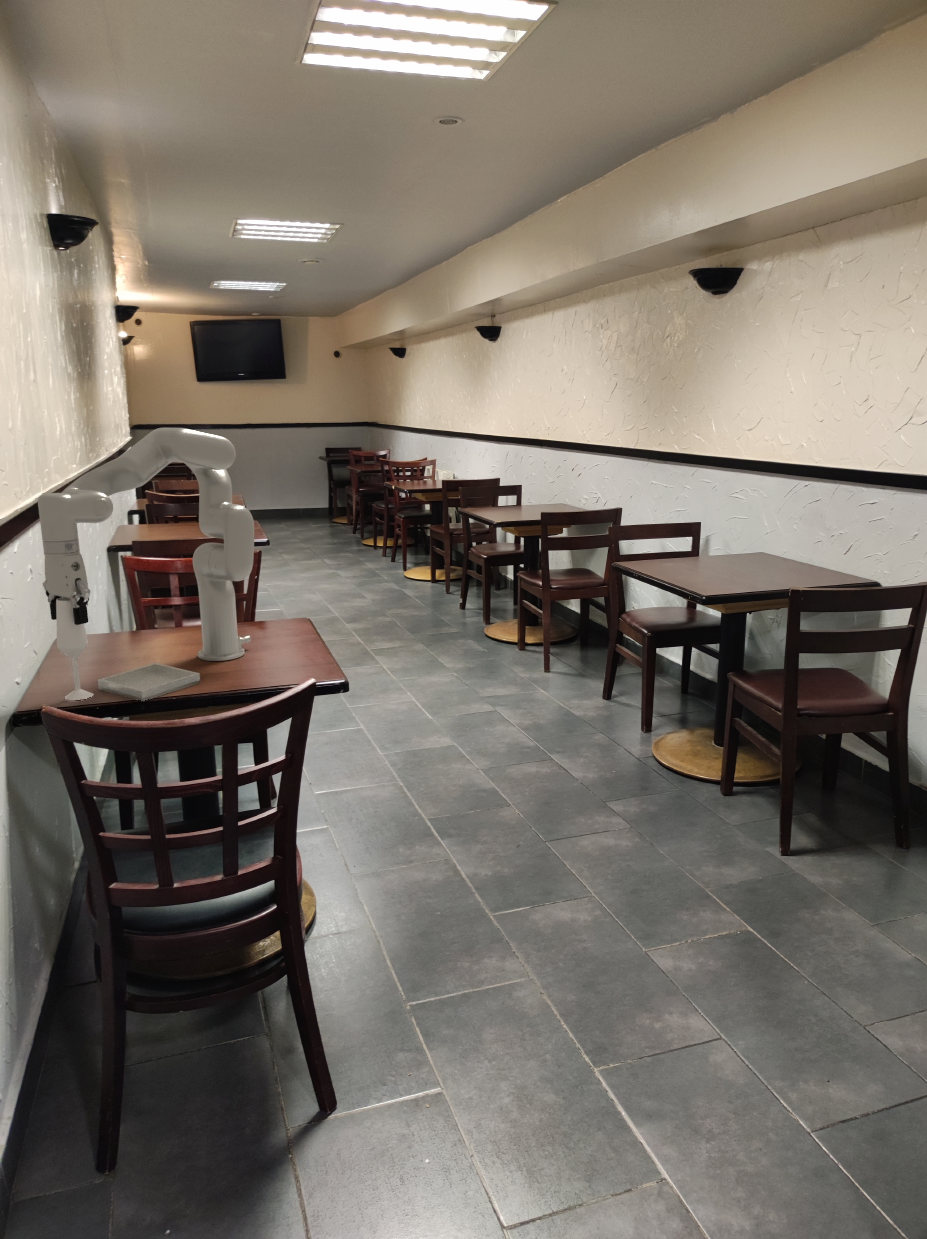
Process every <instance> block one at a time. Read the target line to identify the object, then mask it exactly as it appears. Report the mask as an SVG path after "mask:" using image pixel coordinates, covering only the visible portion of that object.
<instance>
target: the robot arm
mask: <svg viewBox="0 0 927 1239" xmlns="http://www.w3.org/2000/svg"><path fill="white" fill-rule="evenodd" d="M236 456H237V452H236V448H235V446H234V444H233V443H232V442H231V441H230V440H229V439H228V438H227V437H224V436H222V435H221V436H220V435H217V434H212V433H206V432H201V431H198V430H193V429H189V428H185V427H159V428H156V429H154V430H151V431H150V432H149V433H148V434H146V435H145V436H144V437H143V438H141V439H140V440H138V442H136V443H135V444H133V445H132V446H131V447H130V448H129V449H127V450H126V451H125V452H123V453H122V454H121V455H120V456H118V457H117V458H115V459H112V460H110V461H108V462H106V463H104V464H102V465H100V466H98V467H96V468H94V469H92V470H90V471H88V472H86V473H84V474H83V475H82V476H80V477H78V478H76V480H74V481H73V482H72V483H71V484H69V485H68V486H67V487H66V488H64V490H63V491H61V492H51V493H49V492H48V493H43V494H41V495H39V496H38V498H37V507H38V515H39V522H40V523H39V524H40V533H41V540H42V547H43V555H44V578H45V580H44V581H43V582H42V586H43V589H44V591H45V595H46V597H47V602H48V603H49V612H50V618H51V620H52V621H54V620H55V621H57V618H56V599H58V598H62V597H65V598H70V599H71V601H72V603H73V605H74V607H75V608H73V615H74V623H75V625H80V624H84V625H85V624H87V623H89V615H88V614H89V613H88V606H89V601H90V596H91V590H90V588H89V582H88V576H87V572H86V566H85V562H84V559H83V555H82V554H81V551H80V549H81V548H80V540H79V532H78V531H79V530H78V524H79V523H81V524H84V523H85V524H98V523H100V524H101V523H103V522H105V521H106V520H108V519H109V518H110V517H111V516H112V514H113V511H114V503H113V501H112V500H111V498H110V497H109V496H112V495H115V494H118V493H121V492H126V491H131V490H134V489H136V488H137V489H138V488H140V487H143V486H144V485H145V484H147V483H148V482H149V481H150V480H152V478H154V477H155V476H156V475H157V474H159V473H160V472H161V471H162V470H163V469H165V468H166V467H167V466H168V465H170V464H171V463H181V464H182V463H184V464H185V465H186V466H187V467H188V468H189V469H190V470H191V472H192V473H193V474H194V475H195V478H196V480H197V483H198V491H199V492H198V493H199V494H198V495H199V496H198V497H199V502H198V508H199V509H198V525H199V529H200V532H201V533H202V534H203V535H204V536H207V537H208V538H215V539H222V540H223V543H220V542H205V543H202V544H200V545H199V546H198V547H197V548H196V549H195V550H194V552H193V556H192V567H193V571H194V574H195V575H194V576H195V578H196V583H197V588H198V589H197V590H198V600H199V614H200V626H201V637H202V638H201V640H202V649H200V650H199V651H198V652H197V658H198V659H199V660H201V661H208V662H222V661H230V660H235V659H239V658H241V657H242V656H243V655H245V649H244V648H243V645H244V644H247V643H250V642H252V638H251V636H250V635H245V636H243V637H241V636H240V635H239V634H238V623H237V622H238V620H237V619H238V618H237V606H236V605H237V604H236V592H235V587H234V584H233V582H240V581H244V580H246V579H247V578H248V577H249V576H250V575H251V573H252V570H253V566H254V560H255V559H254V553H255V519H254V518H253V515H252V513H251V512H250V510H249V509H248V508H247V507H245V506H243V505H240V504H236V503H233V486H232V485H233V484H232V480H231V476H230V475H229V472H228V470H227V469H229V468H230V467H232V466H233V465H234V462H235V460H236ZM76 598H79V600H78V601H77V599H76ZM238 635H239V636H238Z"/></svg>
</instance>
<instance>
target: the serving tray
mask: <svg viewBox="0 0 927 1239" xmlns="http://www.w3.org/2000/svg"><path fill="white" fill-rule="evenodd" d="M200 674H201V673H200V672H195V671H191V670H187V669H183V668H179V667H174V666H171V665H166V664H161V663H158V662H155V663H151V664H147V665H144V666H141V667H136V668H133V669H129V670H128V671H123V672H119V673H117V674H116V673H115V674H112V675H109V676H105V677H102V678H98V679H97V685H98V686H97V688H98V690H100V691H103V692H105V693H106V692H107V693H111V694H113V695H118V696H121V695H122V696H121V697H124V696H126V697H125V698H128V697H130V698H129V699H131V698H134V699H133V700H135V699H138V700H141V701H140V702H142V701H143V702H145V700H146V701H148V699H149V700H152V699H155V698H158V696H159V697H161V696H165V695H167V693H168V694H170V693H173V692H177V691H179V690H182V689H186V688H190V687H192V686H195V685H197V684H201V676H200ZM154 697H155V698H154ZM138 700H137V701H138Z"/></svg>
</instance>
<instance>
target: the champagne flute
mask: <svg viewBox="0 0 927 1239" xmlns="http://www.w3.org/2000/svg"><path fill="white" fill-rule="evenodd" d="M76 599H77V601H78V600H79V598H76ZM73 608H75V607H74V605H73V603H72V601H71V599H70V598H65V597H62V598H58V599H56V618H57V619H56V647H57V649H58V650H59V651H60V652H61V653H62V654H63V655H65V656H66V657H68V658H70V659H71V666H72V673H73V681H74V683H73V684H74V690H72V691H71V692H69V693H68V694H67V695H65V696H64V697H65V699H69V700H80V699H86V700H88V699H87V698H89V697H91V698H93V697H94V696H93V695H95V694H94V693H93V692H90V691H87V690H85V689H82V688H81V681H80V673H79V666H78V657H80V656H81V655H82V654H83V653H84V652H85V651H86V650H87V647H88V644H89V641H88V636H87V631H86V625H85V623H84V624H80V625H75V623H74V615H73ZM92 696H93V697H92ZM89 699H90V698H89Z"/></svg>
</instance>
